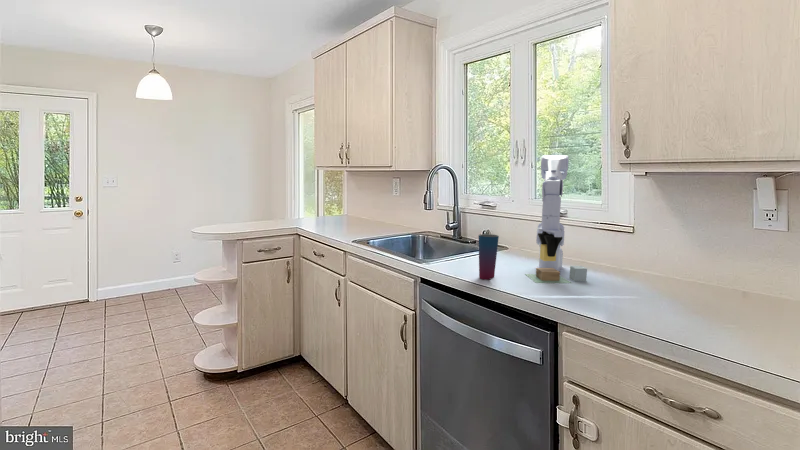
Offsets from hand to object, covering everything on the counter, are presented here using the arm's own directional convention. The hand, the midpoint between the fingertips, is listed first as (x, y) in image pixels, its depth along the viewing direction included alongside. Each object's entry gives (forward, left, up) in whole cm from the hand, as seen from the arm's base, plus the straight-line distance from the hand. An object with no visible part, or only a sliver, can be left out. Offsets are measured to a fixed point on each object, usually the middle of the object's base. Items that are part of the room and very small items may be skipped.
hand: (548, 255), depth 144 cm
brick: (-6, +8, -9) cm, 13 cm away
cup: (+13, -16, -9) cm, 22 cm away
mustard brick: (0, 0, -2) cm, 2 cm away
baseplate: (0, 0, -9) cm, 9 cm away
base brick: (0, 0, -8) cm, 8 cm away
